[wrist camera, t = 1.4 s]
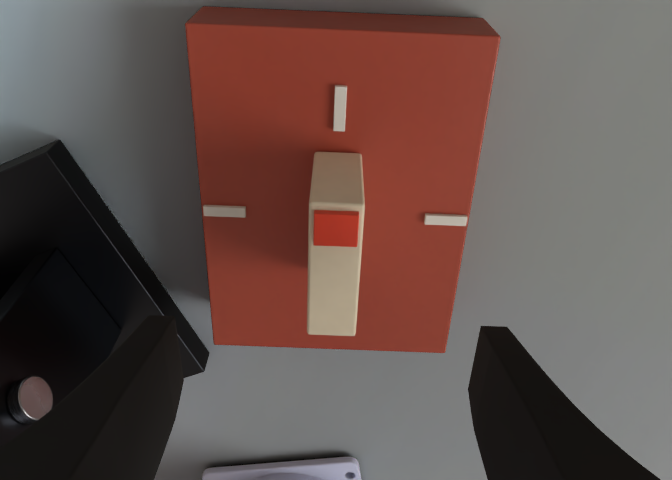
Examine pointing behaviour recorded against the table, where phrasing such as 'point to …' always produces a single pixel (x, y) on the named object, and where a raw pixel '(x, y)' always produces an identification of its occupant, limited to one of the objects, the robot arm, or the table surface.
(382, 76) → the dial panel
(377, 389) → the table surface
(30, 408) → the black lever mount
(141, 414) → the robot arm
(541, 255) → the table surface
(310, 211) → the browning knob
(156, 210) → the table surface
